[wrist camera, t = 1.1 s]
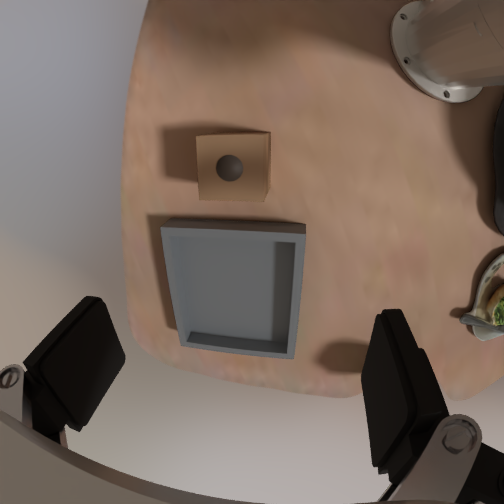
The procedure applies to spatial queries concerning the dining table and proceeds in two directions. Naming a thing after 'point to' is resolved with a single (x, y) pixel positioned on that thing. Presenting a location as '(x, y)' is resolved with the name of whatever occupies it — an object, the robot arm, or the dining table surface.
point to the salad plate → (487, 305)
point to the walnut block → (234, 166)
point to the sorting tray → (235, 284)
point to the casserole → (499, 169)
